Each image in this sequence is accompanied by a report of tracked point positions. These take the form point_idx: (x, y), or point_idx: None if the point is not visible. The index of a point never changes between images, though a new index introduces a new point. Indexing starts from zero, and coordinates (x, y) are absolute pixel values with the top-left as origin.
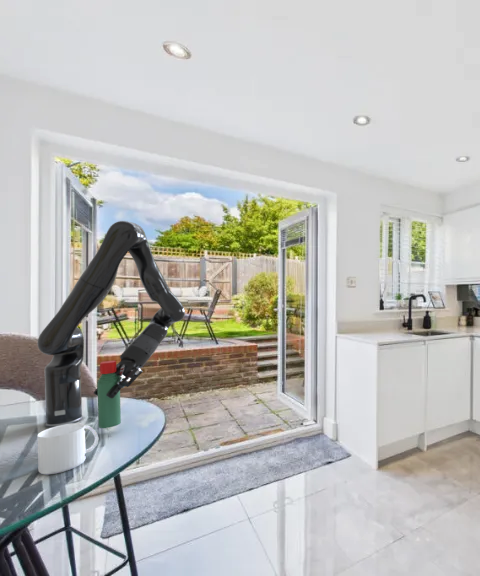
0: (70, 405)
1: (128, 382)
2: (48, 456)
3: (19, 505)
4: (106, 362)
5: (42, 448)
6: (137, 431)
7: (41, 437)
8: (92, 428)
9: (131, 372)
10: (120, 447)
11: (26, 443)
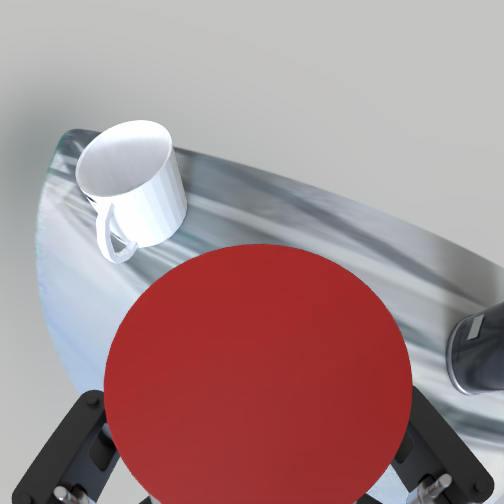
0: (484, 350)
1: (97, 436)
2: (125, 159)
3: (92, 140)
4: (233, 345)
5: (132, 142)
6: None
7: (127, 122)
8: (97, 227)
9: (44, 465)
10: (104, 319)
11: (392, 245)
